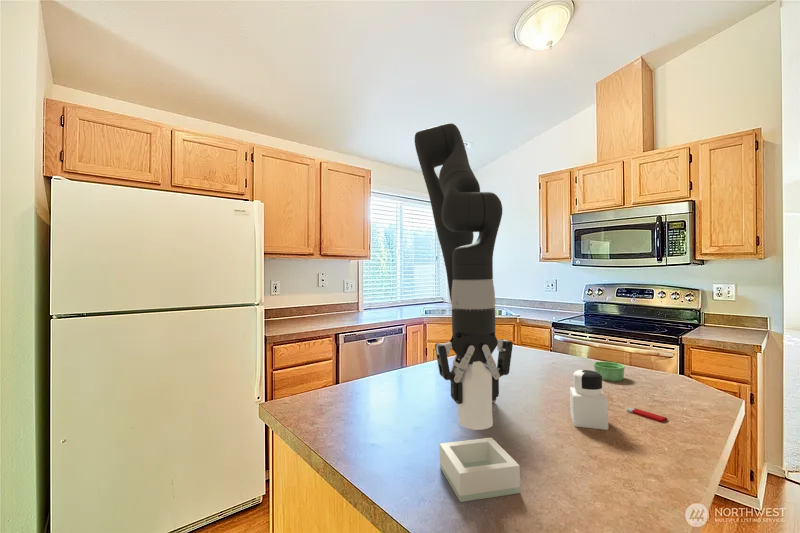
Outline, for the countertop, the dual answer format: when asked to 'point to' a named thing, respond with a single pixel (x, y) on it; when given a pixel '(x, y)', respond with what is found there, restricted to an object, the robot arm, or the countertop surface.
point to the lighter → (647, 415)
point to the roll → (476, 397)
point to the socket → (479, 469)
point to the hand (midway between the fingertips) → (474, 400)
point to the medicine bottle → (588, 401)
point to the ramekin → (610, 370)
